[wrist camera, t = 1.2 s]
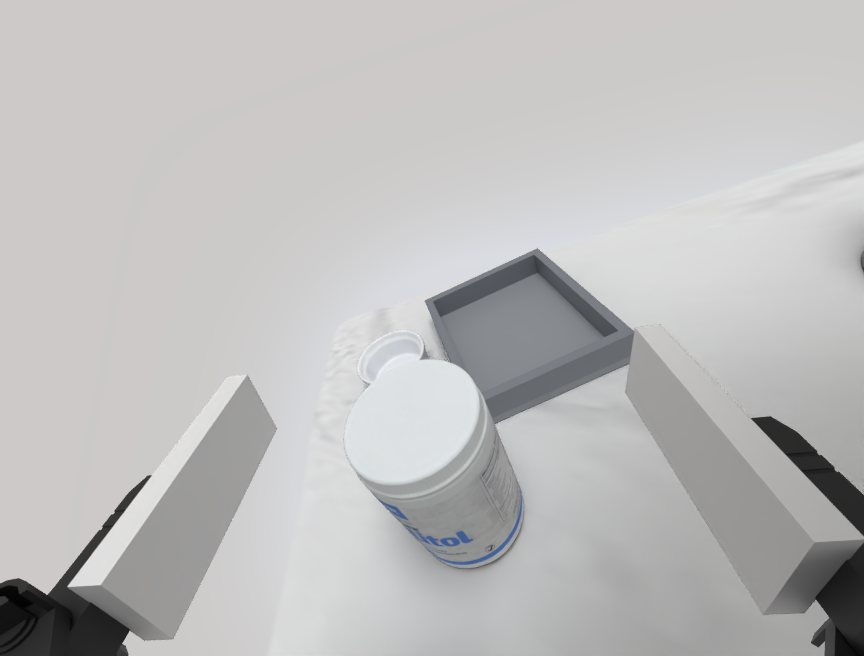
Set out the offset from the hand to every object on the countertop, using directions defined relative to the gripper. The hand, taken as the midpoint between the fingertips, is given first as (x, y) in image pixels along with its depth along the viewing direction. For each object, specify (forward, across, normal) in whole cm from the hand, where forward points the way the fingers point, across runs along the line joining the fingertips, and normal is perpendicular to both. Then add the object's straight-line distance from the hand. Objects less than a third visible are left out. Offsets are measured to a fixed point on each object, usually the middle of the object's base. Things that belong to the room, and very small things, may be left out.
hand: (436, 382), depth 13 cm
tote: (+28, +7, -18) cm, 34 cm away
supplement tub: (+9, 0, -22) cm, 24 cm away
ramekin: (+27, -8, -21) cm, 35 cm away
